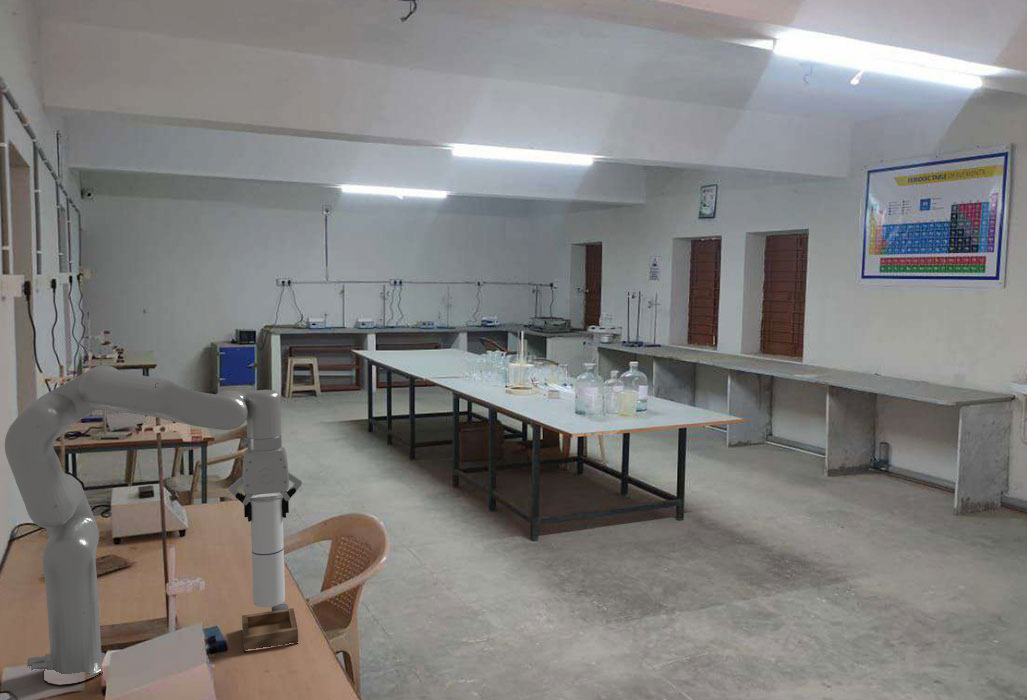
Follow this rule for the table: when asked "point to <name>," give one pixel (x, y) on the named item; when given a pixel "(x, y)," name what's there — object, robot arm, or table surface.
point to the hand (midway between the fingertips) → (266, 517)
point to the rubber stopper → (280, 607)
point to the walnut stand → (269, 629)
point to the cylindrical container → (267, 550)
